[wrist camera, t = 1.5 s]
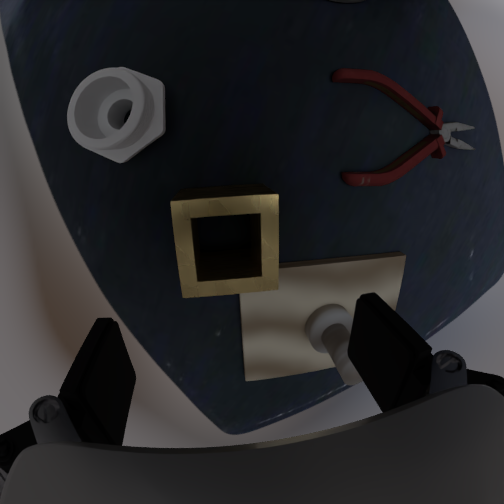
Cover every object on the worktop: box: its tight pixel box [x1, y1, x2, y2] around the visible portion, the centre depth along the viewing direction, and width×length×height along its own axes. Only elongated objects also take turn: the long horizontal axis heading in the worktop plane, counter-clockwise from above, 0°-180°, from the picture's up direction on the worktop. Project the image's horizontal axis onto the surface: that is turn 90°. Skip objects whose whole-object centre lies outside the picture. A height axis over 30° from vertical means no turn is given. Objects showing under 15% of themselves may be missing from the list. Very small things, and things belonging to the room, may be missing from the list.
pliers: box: [332, 68, 475, 186], centre depth 23 cm, size 12×20×3 cm, turn 96°
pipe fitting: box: [67, 67, 166, 163], centre depth 16 cm, size 6×7×8 cm
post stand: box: [239, 252, 406, 385], centre depth 25 cm, size 14×18×9 cm
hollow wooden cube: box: [171, 184, 279, 298], centre depth 22 cm, size 7×7×6 cm
